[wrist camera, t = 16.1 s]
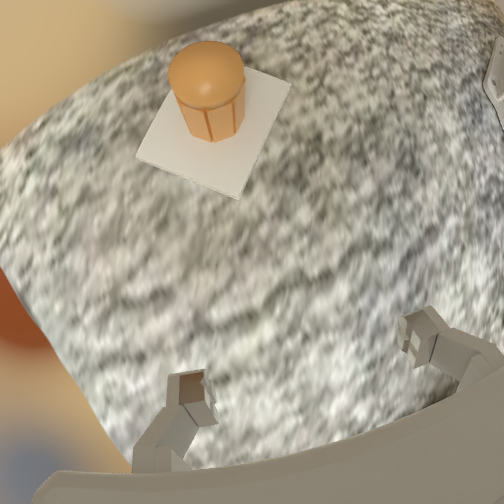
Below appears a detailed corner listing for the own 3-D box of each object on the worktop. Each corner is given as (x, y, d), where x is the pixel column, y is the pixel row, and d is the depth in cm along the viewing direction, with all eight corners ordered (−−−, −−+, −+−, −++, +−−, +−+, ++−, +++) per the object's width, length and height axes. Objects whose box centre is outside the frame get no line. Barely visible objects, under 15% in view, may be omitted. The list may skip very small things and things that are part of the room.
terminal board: (196, 58, 28) (188, 22, 22) (289, 90, 28) (299, 57, 22) (139, 160, 28) (116, 140, 22) (238, 201, 28) (237, 187, 22)
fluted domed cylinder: (201, 84, 26) (190, 34, 18) (252, 102, 27) (255, 53, 18) (176, 130, 26) (154, 88, 18) (228, 149, 26) (223, 111, 18)
